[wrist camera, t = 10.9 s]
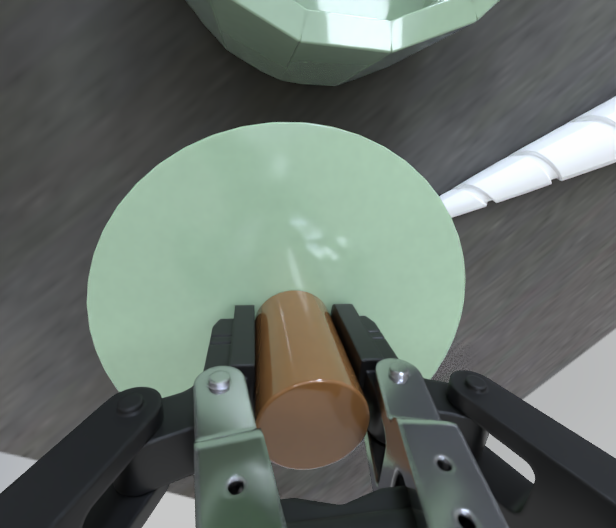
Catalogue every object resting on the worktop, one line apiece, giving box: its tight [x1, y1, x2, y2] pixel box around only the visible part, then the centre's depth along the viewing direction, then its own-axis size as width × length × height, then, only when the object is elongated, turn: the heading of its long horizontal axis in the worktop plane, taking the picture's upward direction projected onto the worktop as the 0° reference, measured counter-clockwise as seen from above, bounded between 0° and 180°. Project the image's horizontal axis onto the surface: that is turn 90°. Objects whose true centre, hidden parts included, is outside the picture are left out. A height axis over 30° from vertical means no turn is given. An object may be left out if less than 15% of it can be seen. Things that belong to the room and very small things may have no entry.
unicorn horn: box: [439, 96, 616, 218], centre depth 17 cm, size 5×24×5 cm, turn 111°
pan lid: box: [87, 122, 465, 470], centre depth 11 cm, size 15×15×6 cm
